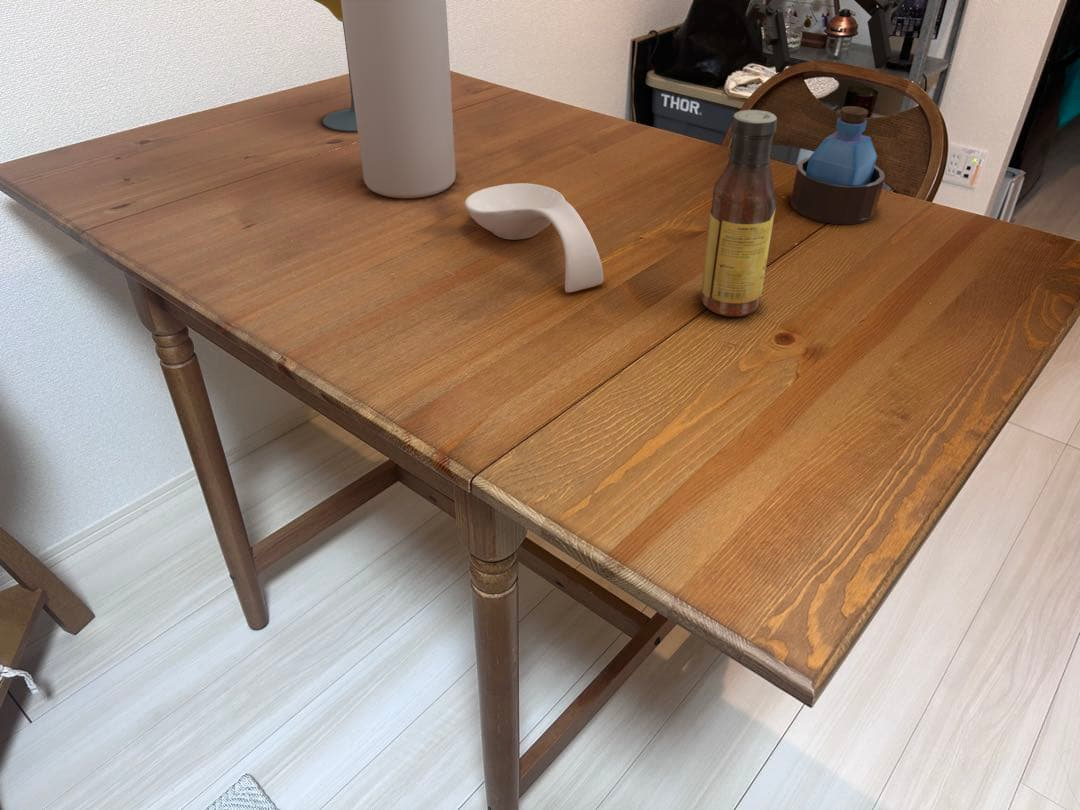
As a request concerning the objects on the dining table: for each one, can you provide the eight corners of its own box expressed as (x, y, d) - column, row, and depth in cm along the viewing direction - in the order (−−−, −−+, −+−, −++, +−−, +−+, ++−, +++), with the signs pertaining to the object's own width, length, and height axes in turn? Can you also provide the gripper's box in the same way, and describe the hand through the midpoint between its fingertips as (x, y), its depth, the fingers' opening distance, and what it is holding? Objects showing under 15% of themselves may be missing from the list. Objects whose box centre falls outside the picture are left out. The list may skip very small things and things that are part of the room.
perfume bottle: (844, 217, 103) (868, 122, 96) (799, 203, 106) (819, 110, 99) (864, 202, 107) (889, 109, 99) (820, 189, 110) (841, 99, 102)
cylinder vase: (418, 158, 119) (401, -34, 104) (474, 182, 112) (466, -19, 97) (346, 181, 112) (317, -21, 96) (402, 209, 105) (380, -4, 90)
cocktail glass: (377, 96, 142) (358, -69, 126) (434, 123, 131) (422, -53, 115) (280, 117, 132) (248, -58, 117) (333, 148, 122) (306, -40, 106)
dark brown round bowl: (872, 196, 110) (882, 159, 106) (876, 229, 101) (887, 191, 98) (791, 187, 112) (798, 151, 109) (789, 218, 104) (797, 181, 101)
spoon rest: (451, 219, 103) (447, 164, 98) (533, 201, 107) (533, 148, 103) (540, 304, 86) (541, 243, 82) (633, 279, 91) (638, 219, 86)
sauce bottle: (770, 309, 86) (811, 120, 74) (728, 326, 83) (762, 133, 71) (726, 283, 90) (757, 101, 78) (684, 299, 87) (710, 112, 75)
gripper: (882, -70, 111) (907, 76, 108) (707, -67, 107) (729, 84, 105) (914, -112, 103) (942, 44, 101) (727, -110, 100) (751, 52, 98)
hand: (834, 65), depth 103 cm, fingers open, 13 cm apart
